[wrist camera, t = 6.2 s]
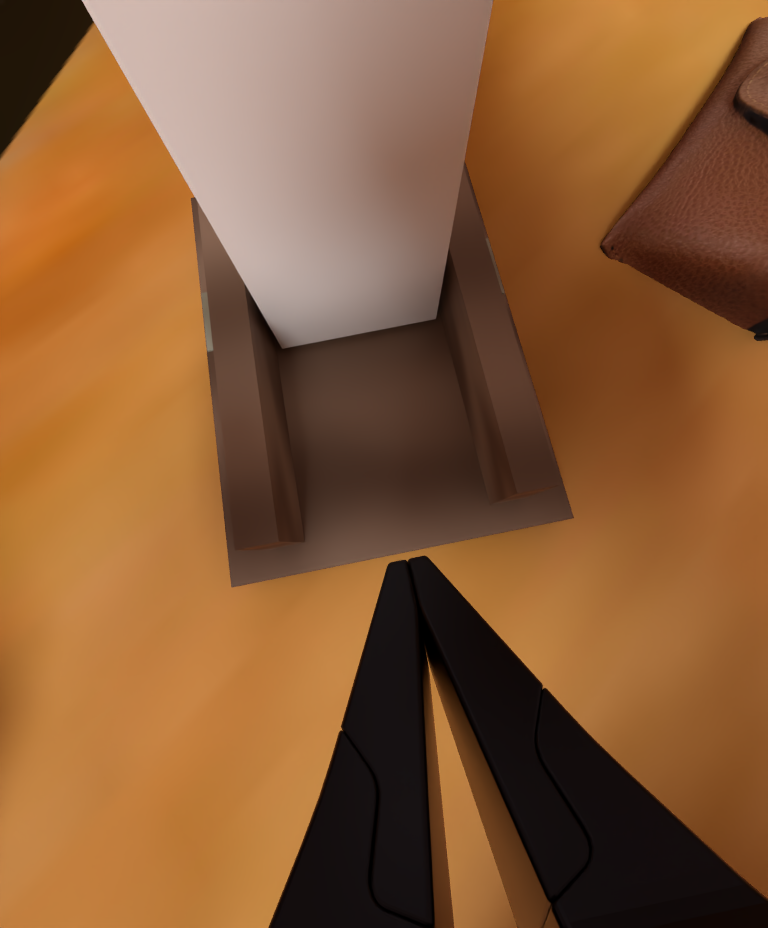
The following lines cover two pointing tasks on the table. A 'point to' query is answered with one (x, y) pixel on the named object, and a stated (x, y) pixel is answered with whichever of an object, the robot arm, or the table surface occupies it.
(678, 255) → the sunglasses case
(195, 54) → the ivory key
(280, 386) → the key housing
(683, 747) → the table surface
